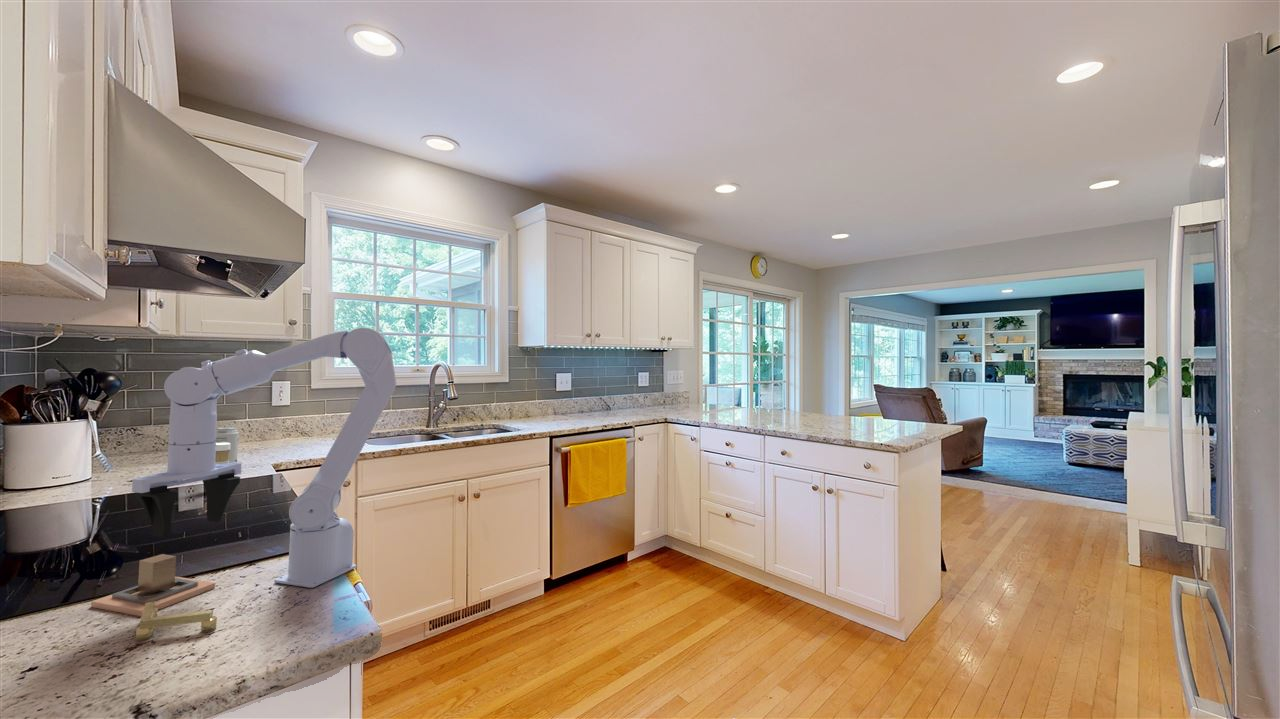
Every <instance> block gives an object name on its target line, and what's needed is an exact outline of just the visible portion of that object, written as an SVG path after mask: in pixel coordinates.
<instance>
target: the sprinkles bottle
mask: <svg viewBox="0 0 1280 719" xmlns="http://www.w3.org/2000/svg"><path fill="white" fill-rule="evenodd" d="M229 451H230V443H216V455H215V465H216V464H225V463H229Z"/></svg>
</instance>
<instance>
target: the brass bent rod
mask: <svg viewBox="0 0 1280 719" xmlns="http://www.w3.org/2000/svg"><path fill="white" fill-rule="evenodd" d="M155 602H156V601H154V602H149V603H146V604H145V607H144V610H143V611H142V616H140V619H139V626H138V627H136V634H135V641H136V642H142V641H143V642H144V641H147V640H149V639H151V638H153V637H154V629H155V628H161V627H170V626H171V627H172V626H178V625H187V624H194V623H201V626H200V633H209V632H213V631H215V630H216V629H217V622H218V619H217V618H218V617H217V616H213V613H214V610H213V609H212V610H211V609H210V610H202V611H192V612H185V613H175V614H167V615H160V616H158V614H159V613H158V612H159V610H158V608H157V607H155Z"/></svg>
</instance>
